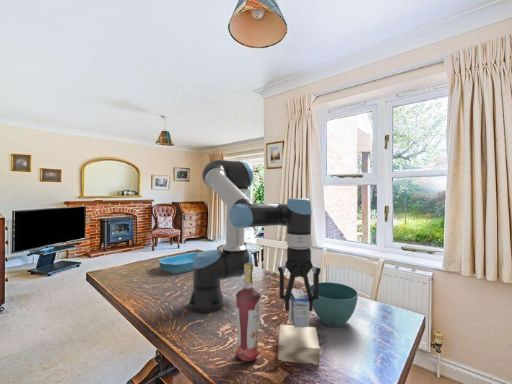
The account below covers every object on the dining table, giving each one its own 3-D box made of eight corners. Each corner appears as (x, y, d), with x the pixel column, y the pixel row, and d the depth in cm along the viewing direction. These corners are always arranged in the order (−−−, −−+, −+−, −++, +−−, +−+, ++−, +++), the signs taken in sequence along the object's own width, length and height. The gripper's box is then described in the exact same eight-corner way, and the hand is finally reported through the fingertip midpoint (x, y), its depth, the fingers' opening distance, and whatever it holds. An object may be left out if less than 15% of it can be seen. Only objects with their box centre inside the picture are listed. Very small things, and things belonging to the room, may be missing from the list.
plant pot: (352, 340, 87) (352, 303, 87) (301, 325, 97) (301, 292, 97) (361, 318, 102) (361, 287, 103) (317, 307, 112) (317, 279, 112)
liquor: (254, 368, 72) (255, 268, 73) (231, 361, 75) (232, 266, 75) (263, 353, 79) (263, 262, 79) (241, 347, 82) (242, 260, 82)
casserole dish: (197, 259, 192) (197, 250, 192) (217, 265, 178) (218, 254, 178) (151, 271, 163) (151, 259, 163) (171, 278, 149) (171, 266, 149)
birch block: (278, 361, 76) (278, 344, 76) (279, 339, 88) (280, 324, 88) (319, 365, 74) (319, 348, 74) (315, 342, 86) (315, 327, 86)
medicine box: (289, 315, 85) (289, 289, 85) (302, 315, 85) (302, 289, 85) (294, 328, 77) (294, 299, 77) (308, 327, 77) (308, 298, 77)
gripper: (271, 248, 78) (270, 326, 77) (330, 249, 77) (329, 327, 77) (270, 244, 85) (270, 314, 85) (324, 244, 85) (323, 315, 84)
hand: (298, 320), depth 81 cm, fingers closed on medicine box, 5 cm apart
